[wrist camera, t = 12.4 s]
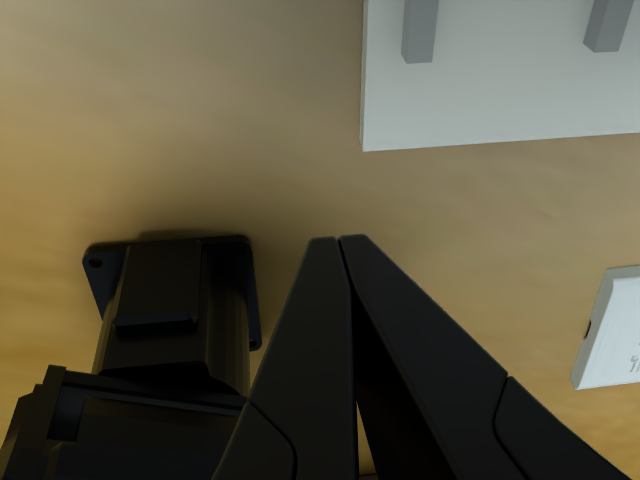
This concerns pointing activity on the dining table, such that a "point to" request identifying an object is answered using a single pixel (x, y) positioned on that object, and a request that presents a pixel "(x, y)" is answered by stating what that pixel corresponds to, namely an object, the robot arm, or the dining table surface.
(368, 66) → the board
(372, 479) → the plant pot
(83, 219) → the dining table surface
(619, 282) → the external hard drive
